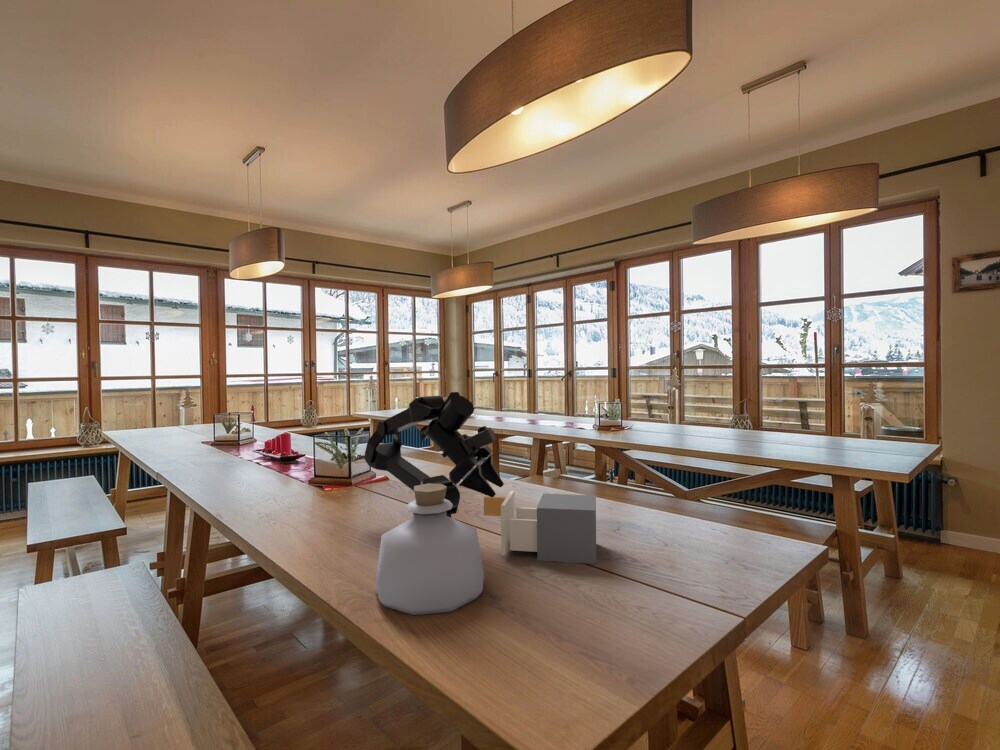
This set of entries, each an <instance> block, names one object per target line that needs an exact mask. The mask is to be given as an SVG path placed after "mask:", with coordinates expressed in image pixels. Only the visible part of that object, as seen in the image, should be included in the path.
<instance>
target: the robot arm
mask: <svg viewBox="0 0 1000 750" xmlns="http://www.w3.org/2000/svg"><path fill="white" fill-rule="evenodd" d="M474 412H475V407H474V403H472V401H470V400H469V399H468V398H467V397H465V396H462V395H461V394H460V392H459V391H451V392H450V393H449V394H448V396H447V398H446V399H445V400H444V399H443V397H442V396H441V395H427V396H418V397H417V396H416V397H415V398H413V400H412V401H411V402H409V404H408V407H407V408H406V409H404V410H402V411H400V412H398V413H395V414H393V415H391V416H389V417H388V418H385V419H382V420H381V421H379V422H378V424H377V426H376V430H375V431H374V432H373V434H372V435H371V436H370V437H369V439H368V440H367V443H366V447H365V450H364V451H365V452H364V460H365V462H366V464H367V465H368V467H370V468H371V469H374V470H376V471H377V470H378V471H386V472H388V473H389V474H390V475H392V476H393V477H395V479H397V480H398V481H400V482H401V483H402V484H404V485H405V486H406V487H407V488H409V490H411V491H412V492H414V486H417V485H423V484H428V483H430V484H443V485H445V486H447V489H446V494H445V498H444V499H447V500H449V501H450V502H451V503H452V504H453V506H452V509H450V510H447V511H446V516H448V517H450V518H452V515H455V514H457V512H458V507H459V505H460V500H461V499H460V498H461V494H460V490H459V488H458V487H457V485H458V486H459V487H462V488H463V487H464V488H466V489H470V490H472V491H474V492H476V493H480V494H482V495H484V496H486V497H496V494H497V493H496V492H495V490H494V489H493V488H492V486H491V484H493V485H495V486H497V487H499V488H502V487H504V485H505V484H504V481H503V480H502V478H501V476H500V474H499V473H498V471H497V469H496V468H495V466H494V463H493V460H494V459H493V456H494V454H493V450H492V449H491V448H490V447H489V446H488V445H490V444H493V443H494V442H495V441H497V438H496V436H495V431H494V430H493V429H492V428H491V427H487V426H486V425H483V426H481V427H478V428H477V433H476V434H474V435H472V436H468V435H467V434H465V433H463V434H461V433H460V432H459V430H461V428H462V427H463V426H464V425H465V423H466V422H467V421H468V420H469V418H470V417H471V416H472V415H473V413H474ZM422 422H423V423H424V422H429V424H427V425H425V426H423V427H422V428H420V440H421V441H422V442H423V441H425V440H426V439H428V438H429V440H430V441H432V443H433V444H435V446H437V448H438V449H439V450H440V451H441V452H442V454H441V455H442V457H443V458H448V459H449V460H450V461H451V462H452V463H453V464H454V467H453V468H452V469H451V470H450V471H449V473H448V476H449V477H447V476H445V475H444V474H441V475H435V476H430V475H428V474H427V473H425V472H423V471H422V470H421V469H420V468H418V467H416V466H415V465H414V464H412V463H410V462H409V461H408V460H407V459H405V458H404V457H403V456H402V451H401V448H402V445H403V443H402V439H401V437H400V434H401V432H402V431H404V430H407V429H409V428H411V427H413V426H415V425H418V424H420V423H422ZM390 435H391V436H392V438H393V439H392V442H385V443H381V442H382V441H383V440H384V438H385V436H390ZM461 480H462V481H461ZM490 483H491V484H490Z"/></svg>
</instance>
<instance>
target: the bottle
mask: <svg viewBox="0 0 1000 750" xmlns="http://www.w3.org/2000/svg"><path fill="white" fill-rule="evenodd" d="M446 489H447V486H445V485H443V484H430V483H428V484H423V485H417V486H414V491H413V493H414V498H415V499H414V500H412V501H409V503H408V504H407V505H406V506H405V510H406V511H407V512H408V513H412V518H410V519H407V520H406V521H405V522H402V523H401V524H399V525H397V526H396V527H393V528H391V529H390V530H388V531H387V532H385V533H383V534H382V535H381V538H380V545H379V552H378V559H377V567H376V573H375V581H374V585H375V588H376V592H377V597H378V600H379V602H380V603H381V604H382V605H383V606H384V607H385V608H388V609H392V610H394V611H395V610H396V611H398V612H402V613H404V614H407V615H408V614H409V615H410V616H421V615H430V614H439V613H450V612H453V611H455V610H457V609H459V608H461V607H463V606H465V605H467V604H469V603H471V602H472V601H475V600H476V599H478V597H479V596H480V595H481V593H483V591H484V590H483V589H484V581H485V580H484V578H485V572H484V565H483V560H482V554H481V549H480V543H479V535H478V529H477V528H476V527H474V526H472V525H469V524H466V523H464V522H461V521H459V520H457V519H455V518H453V517H451V518H450V517H448V516H446V511H447V510H450V509H452V506H453V504H452V503H451V502H450V501H449V500H447V499H444V498H445V494H446Z"/></svg>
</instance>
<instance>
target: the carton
mask: <svg viewBox="0 0 1000 750" xmlns="http://www.w3.org/2000/svg"><path fill="white" fill-rule="evenodd" d="M596 497H597V495H595V494H568V493H567V494H566V493H561V494H560V493H542V495H541V497H540V500H539V502H538V504H537V506H536V508H537V552H536V554H537V562H538V561H539V562H552V561H557V562H556V563H571V564H572V563H573V564H585V565H586V564H589V565H597V498H596Z"/></svg>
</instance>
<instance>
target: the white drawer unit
mask: <svg viewBox="0 0 1000 750" xmlns="http://www.w3.org/2000/svg"><path fill="white" fill-rule="evenodd" d="M515 503H516V502H515V490H510V492H509V493H508V495H507V496H494V497H490V496H487V495H484V497H483V516H489V517H490V516H492V517H493V516H494V517H500V543H501V546H500V549H501V552H500V553H501V556H506V554H507V552H508V550H509V551H516V552H517V551H518V552H533V553H534V552H535V553H537V507H535V508H534V507H515V506H516V505H515Z"/></svg>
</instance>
